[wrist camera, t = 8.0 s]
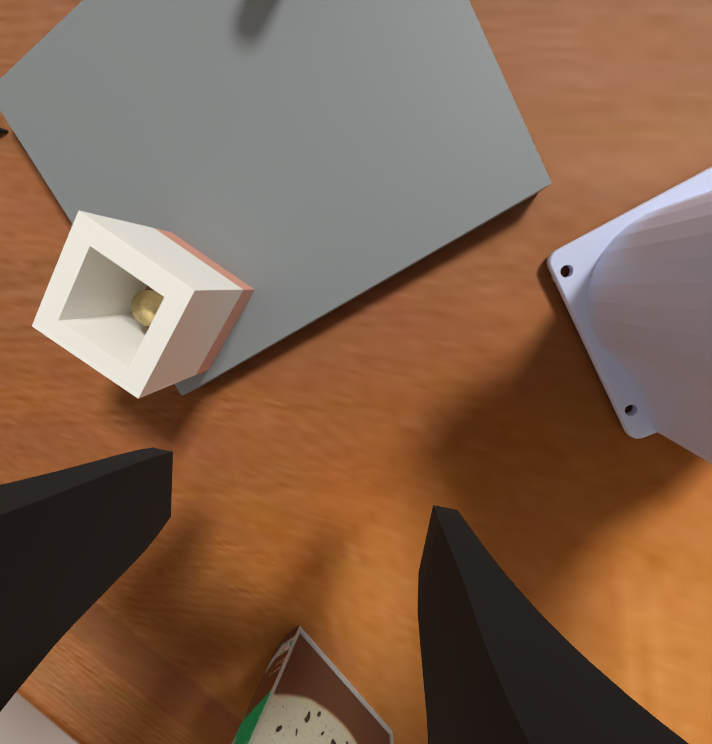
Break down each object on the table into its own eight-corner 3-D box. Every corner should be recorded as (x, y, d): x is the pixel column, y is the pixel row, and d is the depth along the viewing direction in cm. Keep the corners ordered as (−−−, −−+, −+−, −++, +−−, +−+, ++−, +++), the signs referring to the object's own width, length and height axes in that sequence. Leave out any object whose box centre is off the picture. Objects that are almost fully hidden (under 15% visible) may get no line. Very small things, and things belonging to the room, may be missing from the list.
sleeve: (254, 289, 17) (194, 290, 12) (209, 369, 18) (138, 398, 14) (171, 231, 17) (78, 210, 12) (130, 315, 18) (31, 326, 14)
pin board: (539, 192, 16) (551, 183, 15) (197, 388, 20) (181, 396, 19) (358, -202, 14) (352, -257, 13) (20, 106, 18) (-13, 90, 17)
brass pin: (209, 310, 18) (170, 315, 15) (186, 325, 18) (144, 332, 15) (193, 284, 18) (150, 283, 15) (170, 299, 18) (124, 301, 15)
